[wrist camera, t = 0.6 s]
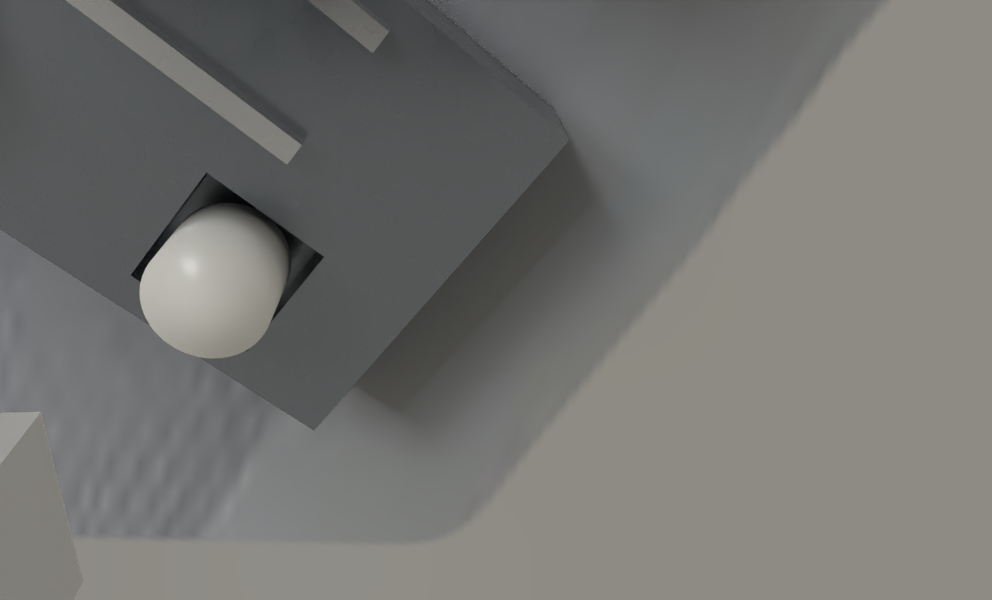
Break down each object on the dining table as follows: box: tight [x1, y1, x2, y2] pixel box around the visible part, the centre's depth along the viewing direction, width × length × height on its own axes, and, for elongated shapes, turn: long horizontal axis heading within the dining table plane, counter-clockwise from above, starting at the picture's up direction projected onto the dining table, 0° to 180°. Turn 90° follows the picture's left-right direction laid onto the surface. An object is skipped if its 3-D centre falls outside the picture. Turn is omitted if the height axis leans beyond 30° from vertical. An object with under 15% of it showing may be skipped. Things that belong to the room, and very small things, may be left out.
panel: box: [0, 0, 569, 430], centre depth 29 cm, size 24×14×5 cm, turn 50°
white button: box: [139, 202, 291, 359], centre depth 29 cm, size 4×4×4 cm
